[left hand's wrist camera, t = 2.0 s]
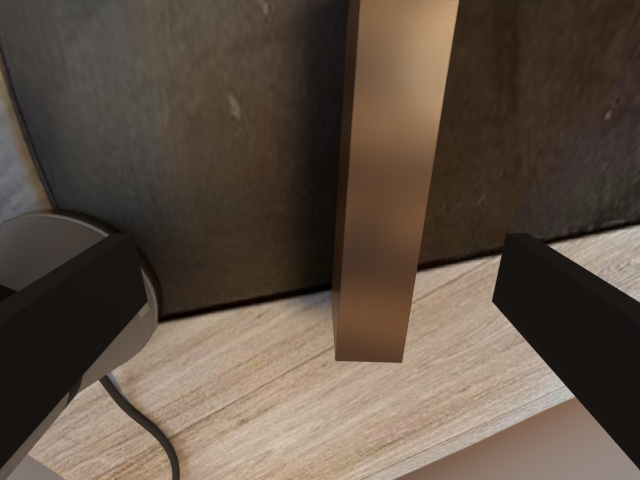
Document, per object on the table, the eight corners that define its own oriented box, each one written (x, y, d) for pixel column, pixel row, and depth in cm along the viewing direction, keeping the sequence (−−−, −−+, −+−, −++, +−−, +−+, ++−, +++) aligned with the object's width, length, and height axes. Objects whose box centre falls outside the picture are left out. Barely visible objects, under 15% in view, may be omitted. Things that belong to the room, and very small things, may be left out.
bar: (381, 297, 31) (402, 363, 23) (331, 296, 31) (335, 361, 23) (418, -10, 23) (471, -71, 15) (349, -13, 23) (365, -76, 15)
